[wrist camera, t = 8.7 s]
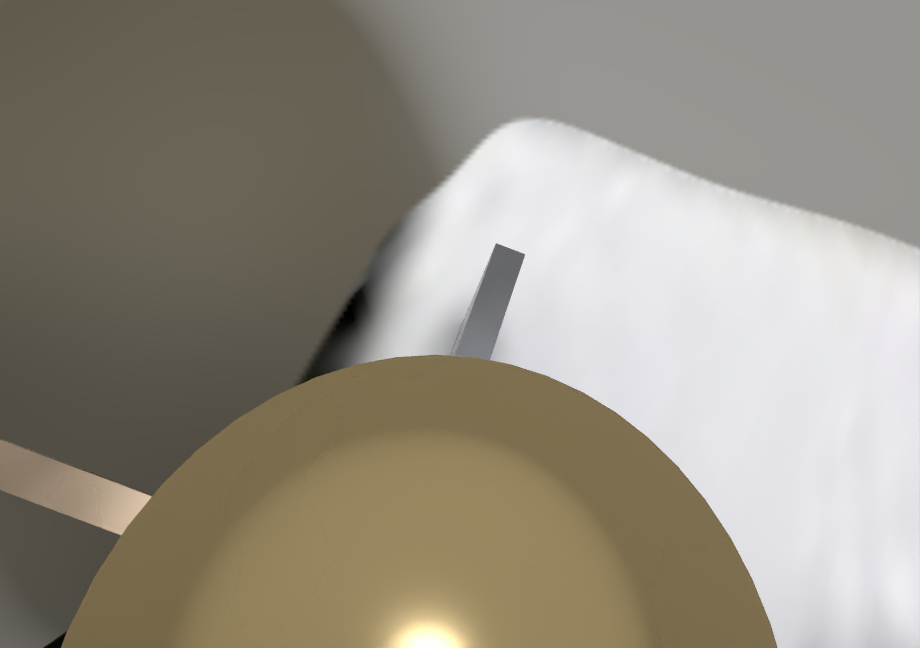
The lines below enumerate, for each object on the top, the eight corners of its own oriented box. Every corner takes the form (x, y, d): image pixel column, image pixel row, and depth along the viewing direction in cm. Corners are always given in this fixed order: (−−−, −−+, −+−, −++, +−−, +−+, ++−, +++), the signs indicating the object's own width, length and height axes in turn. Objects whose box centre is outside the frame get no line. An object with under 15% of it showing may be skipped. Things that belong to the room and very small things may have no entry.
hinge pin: (456, 681, 14) (909, 1188, 2) (292, 697, 13) (-116, 1491, 2) (448, 515, 15) (706, 355, 4) (301, 522, 14) (109, 355, 3)
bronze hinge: (442, 765, 14) (482, 857, 10) (0, 601, 14) (-171, 615, 9) (557, 356, 19) (619, 290, 15) (231, 232, 19) (192, 126, 14)
